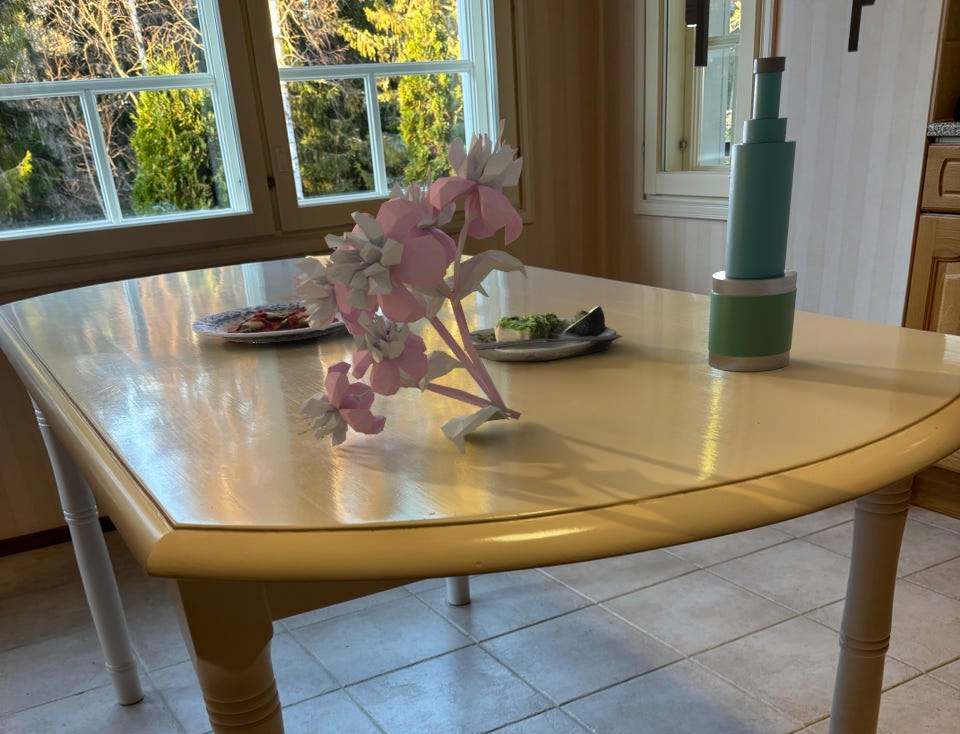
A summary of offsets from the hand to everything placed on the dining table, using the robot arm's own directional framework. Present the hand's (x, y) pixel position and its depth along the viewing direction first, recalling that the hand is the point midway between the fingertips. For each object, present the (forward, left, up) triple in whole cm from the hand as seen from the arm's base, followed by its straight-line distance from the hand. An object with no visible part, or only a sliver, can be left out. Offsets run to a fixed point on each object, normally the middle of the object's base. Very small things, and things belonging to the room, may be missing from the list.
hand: (774, 59), depth 87 cm
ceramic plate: (+67, -14, -28) cm, 74 cm away
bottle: (0, 0, -19) cm, 19 cm away
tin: (0, 0, -28) cm, 28 cm away
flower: (+26, +33, -28) cm, 51 cm away
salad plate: (+25, -6, -28) cm, 38 cm away
